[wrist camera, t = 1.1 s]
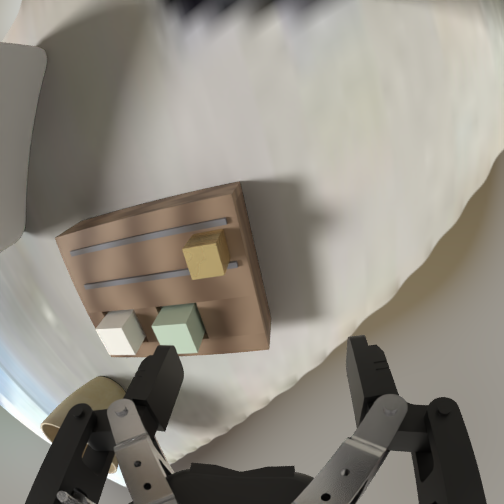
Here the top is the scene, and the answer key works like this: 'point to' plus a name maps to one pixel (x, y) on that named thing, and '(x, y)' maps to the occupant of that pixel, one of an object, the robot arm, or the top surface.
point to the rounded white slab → (17, 132)
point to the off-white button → (121, 332)
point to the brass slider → (207, 254)
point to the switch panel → (172, 268)
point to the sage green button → (180, 327)
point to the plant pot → (92, 393)
